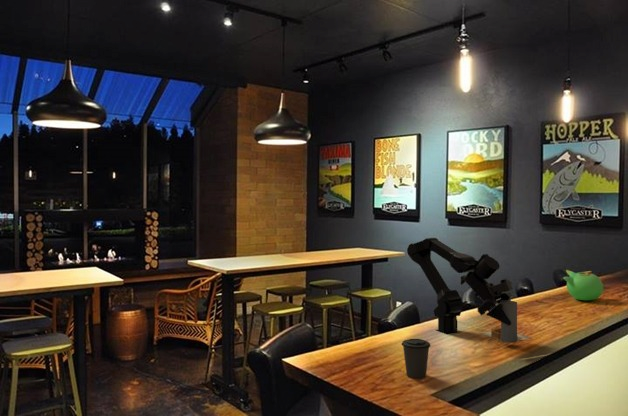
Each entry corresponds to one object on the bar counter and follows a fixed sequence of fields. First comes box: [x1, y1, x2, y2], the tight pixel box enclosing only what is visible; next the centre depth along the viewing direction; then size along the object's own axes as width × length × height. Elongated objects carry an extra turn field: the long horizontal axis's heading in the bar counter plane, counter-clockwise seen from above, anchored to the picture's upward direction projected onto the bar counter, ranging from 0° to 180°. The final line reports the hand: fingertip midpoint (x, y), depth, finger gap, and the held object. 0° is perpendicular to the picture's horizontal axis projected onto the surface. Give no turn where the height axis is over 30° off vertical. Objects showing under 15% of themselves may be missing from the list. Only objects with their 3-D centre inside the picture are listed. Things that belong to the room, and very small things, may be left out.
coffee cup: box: [401, 338, 431, 380], centre depth 135 cm, size 8×8×10 cm
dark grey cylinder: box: [500, 300, 518, 344], centre depth 161 cm, size 5×5×13 cm
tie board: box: [478, 327, 532, 344], centre depth 174 cm, size 13×13×2 cm
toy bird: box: [563, 269, 604, 302], centre depth 238 cm, size 18×17×15 cm
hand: (513, 323), depth 160 cm, fingers closed on dark grey cylinder, 5 cm apart
